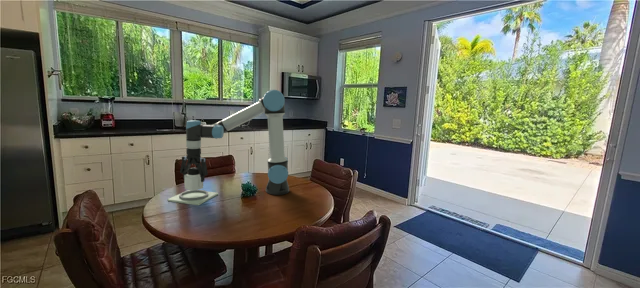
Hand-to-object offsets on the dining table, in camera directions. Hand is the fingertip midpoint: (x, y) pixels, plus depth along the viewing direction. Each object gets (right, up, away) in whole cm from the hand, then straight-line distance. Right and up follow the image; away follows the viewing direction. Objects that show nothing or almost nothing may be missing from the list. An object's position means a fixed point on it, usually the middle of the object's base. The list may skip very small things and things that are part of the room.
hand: (193, 186), depth 156 cm
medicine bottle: (0, -2, 0) cm, 2 cm away
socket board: (0, -7, +1) cm, 7 cm away
